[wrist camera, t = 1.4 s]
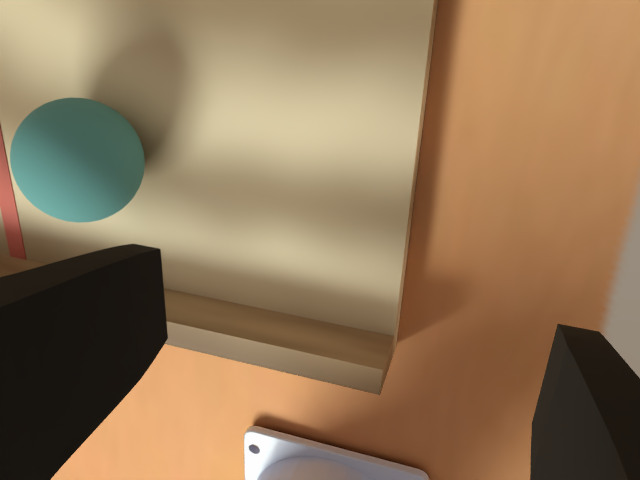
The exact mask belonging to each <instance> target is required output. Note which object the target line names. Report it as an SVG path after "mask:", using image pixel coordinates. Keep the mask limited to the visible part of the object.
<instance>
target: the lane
mask: <svg viewBox="0 0 640 480" xmlns="http://www.w3.org/2000/svg"><path fill="white" fill-rule="evenodd" d="M437 5H438V0H0V277H3V276H7V275H11V274H15V273H19V272H22V271H26V270H29V269H33V268H36V267H40V266H43V265H47V264H51V263H54V262H58V261H61V260H65V259H68V258H72V257H76V256H79V255H83V254H87V253H90V252H94V251H98V250H102V249H106V248H111V247H115V246H120V245H127V244H138V245H143V246H148V247H154V248H159V249H161V260H162V272H163V284H164V297H165V309H166V321H167V333H168V339H167V340H166V342H165V344H167V345H172V346H176V347H180V348H184V349H189V350H193V351H197V352H201V353H205V354H210V355H214V356H218V357H222V358H227V359H231V360H235V361H239V362H243V363H248V364H252V365H256V366H260V367H265V368H269V369H273V370H277V371H281V372H286V373H290V374H294V375H298V376H303V377H307V378H311V379H315V380H319V381H324V382H328V383H332V384H336V385H341V386H345V387H349V388H353V389H357V390H362V391H366V392H370V393H374V394H378V395H380V393H381V390H382V387H383V384H384V381H385V378H386V375H387V372H388V369H389V366H390V363H391V360H392V357H393V353H394V350H395V347H396V344H397V336H398V328H399V320H400V311H401V303H402V295H403V287H404V278H405V270H406V262H407V254H408V245H409V237H410V229H411V220H412V212H413V204H414V196H415V187H416V179H417V171H418V163H419V154H420V146H421V138H422V129H423V121H424V113H425V105H426V96H427V88H428V80H429V72H430V63H431V55H432V47H433V38H434V30H435V22H436V14H437ZM70 97H72V98H86V99H91V100H95V101H98V102H101V103H103V104H105V105H107V106H109V107H111V108H113V109H114V110H116V111H117V112H118V113H120V114H121V115H122V116H123V117H124V118H125V119H126V120H127V121H128V122H129V123H130V124H131V126H132V127H133V128H134V130H135V131H136V133H137V135H138V137H139V139H140V141H141V144H142V147H143V151H144V160H145V168H144V175H143V179H142V182H141V185H140V187H139V189H138V191H137V193H136V194H135V196H134V197H133V199H132V200H131V201H130V202H129V203H128V204H127V205H126V206H125V207H124V208H123V209H121V210H120V211H119V212H117V213H115V214H114V215H112V216H109V217H107V218H104V219H102V220H98V221H93V222H81V223H78V222H69V221H64V220H60V219H57V218H54V217H52V216H50V215H48V214H46V213H44V212H42V211H41V210H39V209H38V208H36V207H35V206H34V205H33V204H32V203H31V202H30V201H29V200H28V199H27V198H26V197H25V196H24V195H23V193H22V192H21V190H20V189H19V187H18V185H17V183H16V181H15V179H14V176H13V173H12V170H11V164H10V150H11V144H12V140H13V137H14V135H15V132H16V130H17V128H18V127H19V125H20V124H21V122H22V121H23V120H24V119H25V118H26V116H28V115H29V114H30V113H31V112H32V111H33V110H35V109H36V108H38V107H40V106H41V105H43V104H45V103H48V102H50V101H54V100H57V99H62V98H70Z"/></svg>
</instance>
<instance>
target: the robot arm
mask: <svg viewBox="0 0 640 480" xmlns="http://www.w3.org/2000/svg"><path fill="white" fill-rule="evenodd" d="M167 339H168V333H167V321H166V309H165V297H164V284H163V272H162V260H161V249H159V248H154V247H148V246H143V245H138V244H127V245H120V246H115V247H111V248H106V249H102V250H98V251H94V252H90V253H87V254H83V255H79V256H76V257H72V258H68V259H65V260H61V261H58V262H54V263H51V264H47V265H43V266H40V267H36V268H33V269H29V270H26V271H22V272H19V273H15V274H11V275H7V276H3V277H0V480H50V479H51V478H52V477H53V476H54V475H55V473H56V472H57V471H58V470H59V469H60V468H61V466H62V465H63V464H64V463H65V462H66V461H67V460H68V459H69V458H70V457H71V455H72V454H73V453H74V452H75V451H76V450H77V449H78V448H79V447H80V446H81V445H82V443H83V442H84V441H85V440H86V439H87V438H88V437H89V436H90V435H91V434H92V433H93V431H94V430H95V429H96V428H97V427H98V426H99V425H100V424H101V423H102V422H103V421H104V419H105V418H106V417H107V416H108V415H109V414H110V413H111V412H112V411H113V410H114V408H115V407H116V406H117V405H118V404H119V403H120V402H121V401H122V400H123V398H124V397H125V396H126V395H127V394H128V393H129V392H130V391H131V389H132V388H133V387H134V386H135V385H136V384H137V383H138V381H139V380H140V379H141V378H142V376H143V375H144V373H145V372H146V371H147V369H148V368H149V366H150V365H151V363H152V362H153V361H154V359H155V358H156V356H157V354H158V353H159V351H160V350H161V348H162V347H163V345H164V344H165V342H166V340H167ZM255 445H256V446H258V447H256V446H255ZM244 464H245V480H429V477H428V475H427V474H426V473H425V472H424V471H422V470H420V469H417V468H413V467H409V466H406V465H402V464H398V463H394V462H391V461H387V460H383V459H379V458H376V457H372V456H368V455H364V454H361V453H357V452H353V451H349V450H345V449H342V448H338V447H334V446H330V445H327V444H323V443H319V442H315V441H312V440H308V439H304V438H300V437H297V436H293V435H289V434H285V433H282V432H278V431H274V430H270V429H267V428H263V427H259V426H250V427H249V428H248V429H247V431H246V432H245V435H244ZM530 480H640V378H639V377H638V376H637V375H636V374H635V372H634V371H633V370H632V369H631V368H630V367H629V365H628V364H627V363H626V362H625V361H624V360H623V358H622V357H621V356H620V355H619V354H618V352H617V351H616V350H615V349H614V348H613V347H612V345H611V344H610V343H609V342H608V341H607V340H606V339H605V337H604V336H603V335H602V334H601V333H600V332H598V331H592V330H587V329H582V328H576V327H571V326H566V325H561V324H558V326H557V329H556V333H555V337H554V341H553V345H552V349H551V352H550V356H549V360H548V364H547V368H546V372H545V375H544V379H543V383H542V387H541V391H540V395H539V398H538V402H537V406H536V410H535V414H534V418H533V422H532V439H531V475H530Z"/></svg>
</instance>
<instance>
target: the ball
mask: <svg viewBox="0 0 640 480" xmlns="http://www.w3.org/2000/svg"><path fill="white" fill-rule="evenodd" d="M10 164H11V170H12V173H13V176H14V179H15V181H16V183H17V185H18V187H19V189H20V190H21V192H22V193H23V195H24V196H25V197H26V198H27V199H28V200H29V201H30V202H31V203H32V204H33V205H34V206H35V207H36V208H38V209H39V210H41V211H42V212H44V213H46V214H48V215H50V216H52V217H54V218H57V219H60V220H64V221H69V222H78V223H81V222H93V221H98V220H102V219H104V218H107V217H109V216H112V215H114V214H115V213H117V212H119V211H120V210H121V209H123V208H124V207H125V206H126V205H127V204H128V203H129V202H130V201H131V200H132V199H133V197H134V196H135V194H136V193H137V191H138V189H139V187H140V185H141V182H142V179H143V175H144V168H145V160H144V151H143V147H142V144H141V141H140V139H139V137H138V135H137V133H136V131H135V130H134V128H133V127H132V126H131V124H130V123H129V122H128V121H127V120H126V119H125V118H124V117H123V116H122V115H121V114H120V113H118V112H117V111H116V110H114V109H113V108H111V107H109V106H107V105H105V104H103V103H101V102H98V101H95V100H91V99H86V98H72V97H70V98H62V99H57V100H54V101H50V102H48V103H45V104H43V105H41V106H40V107H38V108H36V109H35V110H33V111H32V112H31V113H30V114H29V115H28V116H26V118H25V119H24V120H23V121H22V122H21V124H20V125H19V127H18V128H17V130H16V132H15V135H14V137H13V140H12V144H11V150H10Z"/></svg>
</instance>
